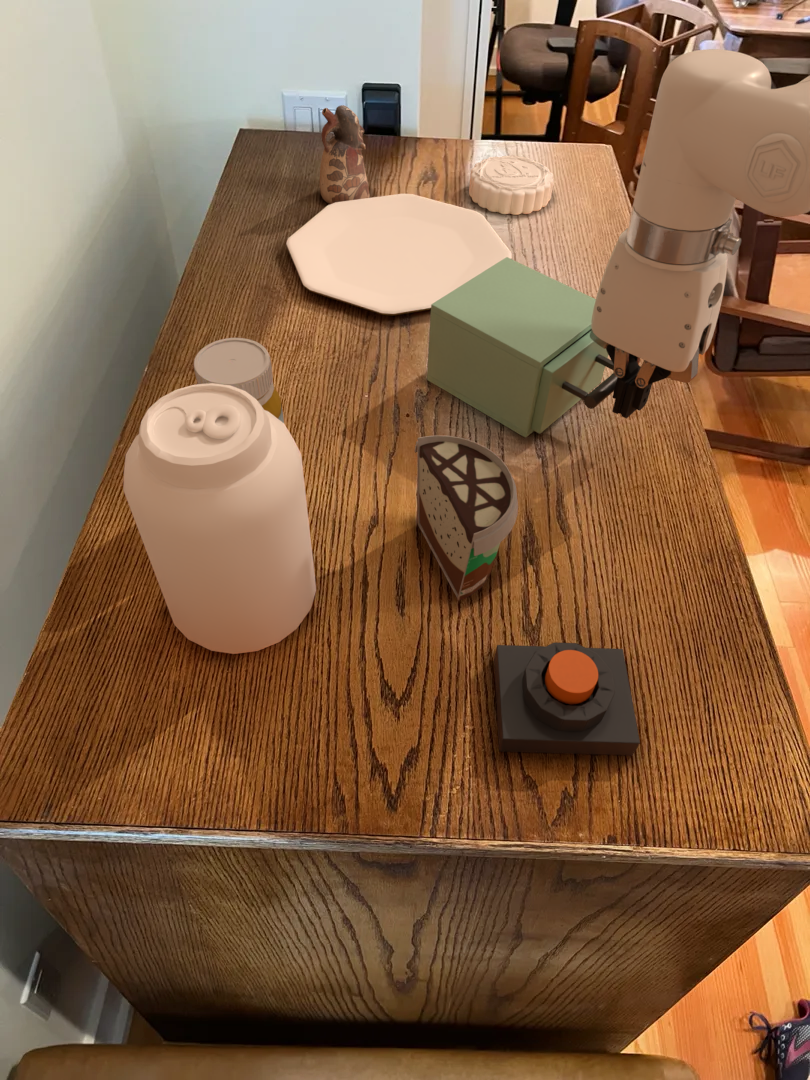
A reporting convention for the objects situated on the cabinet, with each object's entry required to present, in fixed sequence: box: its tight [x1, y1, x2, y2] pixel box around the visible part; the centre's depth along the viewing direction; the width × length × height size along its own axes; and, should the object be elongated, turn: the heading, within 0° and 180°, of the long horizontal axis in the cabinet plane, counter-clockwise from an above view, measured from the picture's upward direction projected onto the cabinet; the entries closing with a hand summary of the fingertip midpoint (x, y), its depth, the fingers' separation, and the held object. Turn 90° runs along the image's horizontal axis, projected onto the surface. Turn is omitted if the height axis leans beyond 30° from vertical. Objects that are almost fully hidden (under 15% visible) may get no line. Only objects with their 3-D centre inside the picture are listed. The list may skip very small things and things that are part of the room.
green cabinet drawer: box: [531, 330, 617, 435], centre depth 80 cm, size 17×11×8 cm
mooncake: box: [468, 154, 555, 216], centre depth 111 cm, size 12×12×4 cm
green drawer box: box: [426, 257, 596, 439], centre depth 81 cm, size 14×13×10 cm
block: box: [493, 642, 641, 757], centre depth 58 cm, size 10×8×4 cm
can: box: [122, 383, 317, 655], centre depth 58 cm, size 12×12×20 cm
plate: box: [285, 193, 513, 317], centre depth 100 cm, size 28×28×2 cm
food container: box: [414, 434, 519, 602], centre depth 66 cm, size 12×6×10 cm, turn 22°
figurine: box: [318, 104, 371, 205], centre depth 107 cm, size 7×7×12 cm
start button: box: [545, 650, 598, 704], centre depth 56 cm, size 4×4×2 cm
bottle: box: [193, 337, 285, 424], centre depth 68 cm, size 7×7×15 cm
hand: (627, 408), depth 76 cm, fingers closed
